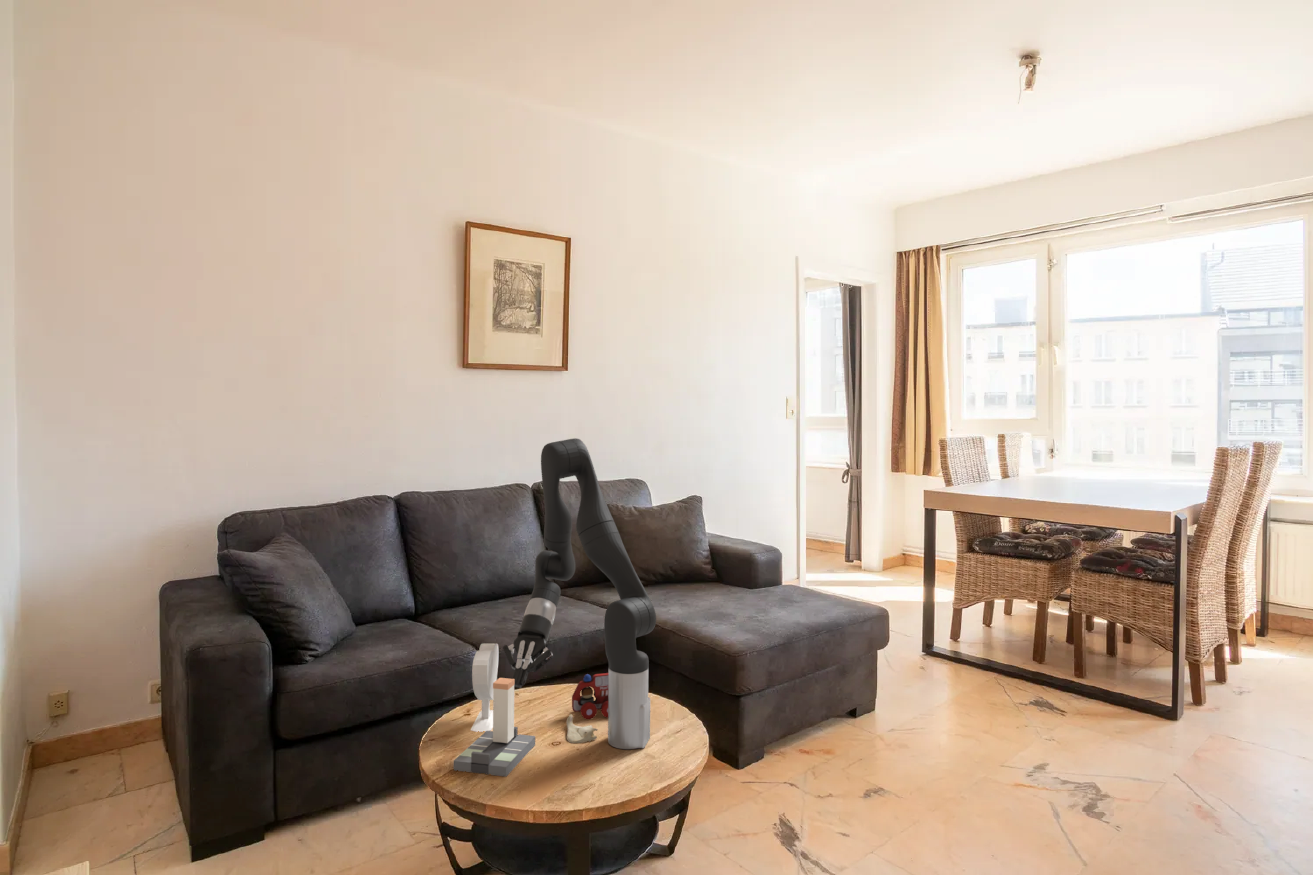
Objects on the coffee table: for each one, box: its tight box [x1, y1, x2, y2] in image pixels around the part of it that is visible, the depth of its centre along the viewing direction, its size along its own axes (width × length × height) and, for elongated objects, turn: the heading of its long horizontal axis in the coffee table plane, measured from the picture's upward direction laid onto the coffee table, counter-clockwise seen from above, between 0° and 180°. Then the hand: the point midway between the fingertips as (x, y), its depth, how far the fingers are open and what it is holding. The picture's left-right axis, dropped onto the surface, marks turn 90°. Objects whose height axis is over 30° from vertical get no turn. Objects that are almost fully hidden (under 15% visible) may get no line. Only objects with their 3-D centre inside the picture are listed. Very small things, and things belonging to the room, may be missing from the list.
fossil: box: [566, 714, 598, 744], centre depth 183 cm, size 7×11×3 cm, turn 12°
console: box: [452, 726, 536, 777], centre depth 169 cm, size 12×16×4 cm
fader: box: [492, 677, 515, 743], centre depth 173 cm, size 4×4×13 cm
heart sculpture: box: [470, 643, 500, 733], centre depth 189 cm, size 16×5×18 cm, turn 2°
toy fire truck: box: [571, 672, 609, 720], centre depth 194 cm, size 7×12×10 cm, turn 104°
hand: (517, 685), depth 181 cm, fingers closed
